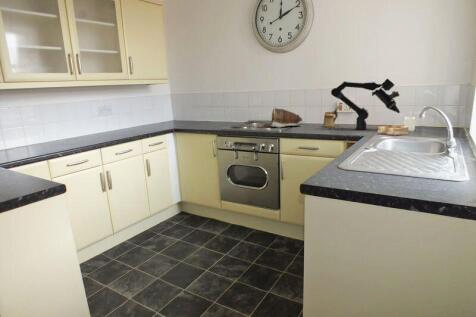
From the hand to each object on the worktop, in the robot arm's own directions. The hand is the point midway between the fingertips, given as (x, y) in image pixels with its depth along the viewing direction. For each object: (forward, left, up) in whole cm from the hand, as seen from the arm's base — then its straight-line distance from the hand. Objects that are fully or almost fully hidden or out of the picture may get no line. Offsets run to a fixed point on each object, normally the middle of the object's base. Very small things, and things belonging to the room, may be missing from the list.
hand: (399, 111), depth 222 cm
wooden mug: (-44, +19, -13) cm, 50 cm away
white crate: (+7, -1, -13) cm, 15 cm away
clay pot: (-79, +18, -13) cm, 82 cm away
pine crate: (-6, -15, -13) cm, 21 cm away
